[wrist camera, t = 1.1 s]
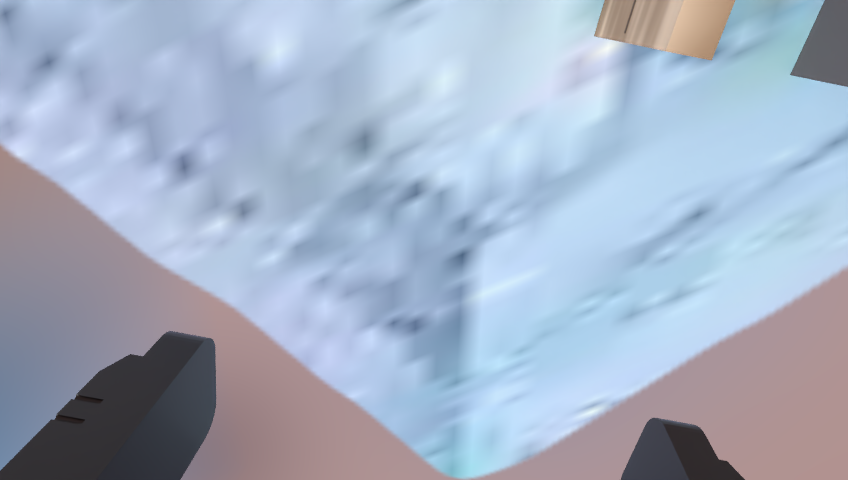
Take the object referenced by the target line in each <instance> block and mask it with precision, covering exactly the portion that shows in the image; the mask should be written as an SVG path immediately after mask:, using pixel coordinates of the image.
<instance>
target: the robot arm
mask: <svg viewBox="0 0 848 480" xmlns="http://www.w3.org/2000/svg"><path fill="white" fill-rule="evenodd" d="M215 367H216V366H215V344H214V341H213V340H212V339H211V338H206V337H200V336H195V335H189V334H184V333H178V332H173V331H169V332H167V333H165V334H164V335H163V336H162V337H161V338H160V339H159V340H158V341H157V342H156V343H155V344H154V345H153V346H152V348H151V349H150V350H149V351H148V352H147V353H146V354H145V355H144V356H137V355H131V354H130V355H128V356H126V357H124V358H123V359H121V360H119V361H117V362H115V363H114V364H112V365H110V366H108V367H106V368H105V369H103V370H101V371H99V372H98V373H97V374H96V375H95V376H94V377H93V379H91V380H90V381H89V383H87V384H86V385H85V386H84V387H83V388H82V389H81V390H80V391H79V392H78V393H77V395H76V398H75V399H74V400H73V399H71V400H70V401H69V402H68V403H67V404H66V405H65V406H64V408H62V410H60V411H59V412H58V413H57V416H56V418H55V420H50V421H49V423H47V424H46V426H44V427H43V428H42V429H41V431H39V432H38V433H37V434H36V436H35V437H33V438H32V440H30V442H29V443H27V445H26V446H24V447H23V449H22V450H20V452H19V453H18V454H17V455H16V456H15V457H14V458H13V459H12V460H11V461H10V462H9V463H8V464H7V465H6V466H5V467H4V468H3V469H2V470H1V471H0V480H180V479H181V478H182V476H183V474H184V473H185V471H186V469H187V468H188V466H189V464H190V463H191V461H192V459H193V458H194V456H195V454H196V453H197V451H198V449H199V448H200V446H201V444H202V443H203V441H204V439H205V438H206V436H207V434H208V431H209V429H210V427H211V424H212V421H213V417H214V413H215V408H216V368H215ZM621 480H745V479H744V478H743V477H742V476H741V475H740V474H739V473H738V472H737V471H736V470H735V469H734V468H733V467H732V466H731V465H730V464H729V463H728V462H727V461H723V460H719V459H718V457H717V456H716V454H715V452H714V450H713V448H712V447H711V445H710V443H709V441H708V439H707V437H706V436H705V434H704V432H703V431H702V430H701V429H700V428H699V427H698V426H696V425H692V424H687V423H681V422H676V421H670V420H665V419H659V418H652V419H650V420H649V421H648V422H647V424H646V425H645V427H644V430H643V432H642V434H641V436H640V438H639V440H638V442H637V445H636V446H635V449H634V451H633V453H632V455H631V457H630V459H629V462H628V464H627V466H626V468H625V470H624V472H623V474H622V478H621Z"/></svg>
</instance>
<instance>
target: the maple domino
mask: <svg viewBox="0 0 848 480" xmlns="http://www.w3.org/2000/svg"><path fill="white" fill-rule="evenodd" d="M734 2H735V0H605V1H604V4H603V8H602V11H601V15H600V18H599V21H598V25H597V28H596V31H595V35H594V36H596V37H601V38H606V39H610V40H615V41H620V42H625V43H629V44H634V45H639V46H644V47H648V48H653V49H658V50H662V51H667V52H672V53H677V54H682V55H687V56H692V57H698V58H703V59H708V60H712V58H713V55H714V53H715V50H716V48H717V45H718V43H719V40H720V38H721V35H722V32H723V30H724V27H725V25H726V22H727V20H728V17H729V15H730V12H731V10H732V7H733V5H734Z"/></svg>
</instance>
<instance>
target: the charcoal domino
mask: <svg viewBox="0 0 848 480" xmlns="http://www.w3.org/2000/svg"><path fill="white" fill-rule="evenodd" d="M791 75H793V76H798V77H803V78H808V79H812V80H817V81H822V82H827V83H832V84H837V85H842V86H847V87H848V0H825V1H824V3H823V6H822V8H821V10H820V12H819V14H818V16H817V19H816V21H815V23H814V25H813V27H812V29H811V31H810V34H809V36H808V38H807V40H806V42H805V44H804V47H803V49H802V51H801V53H800V55H799V57H798V60H797V62H796V64H795V66H794V68H793V70H792V73H791Z"/></svg>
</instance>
